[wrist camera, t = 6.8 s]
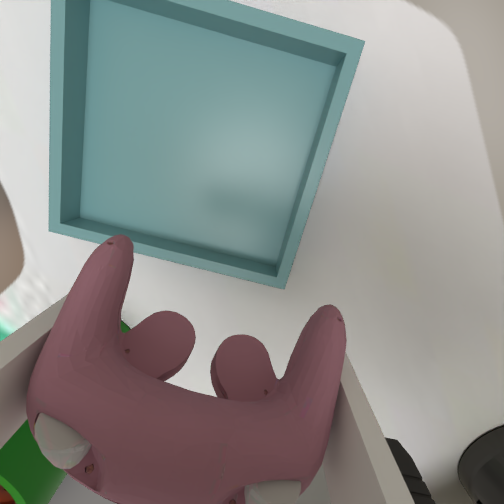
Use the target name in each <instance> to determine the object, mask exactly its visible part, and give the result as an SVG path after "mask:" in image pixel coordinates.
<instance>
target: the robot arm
mask: <svg viewBox="0 0 504 504" xmlns="http://www.w3.org/2000/svg"><path fill="white" fill-rule="evenodd" d="M67 296H68V295H66V296H65V297H63V298H62V299H61V300H59V301H58V302H56V303H55V304H53V305H52V306H51V307H49V308H48V309H46V310H45V311H43V312H42V313H41V314H39V315H38V316H36V317H35V318H33V319H32V320H31V321H29V322H28V323H26V324H25V325H24V326H22V327H21V328H19V329H18V330H16V331H15V332H14V333H12V334H11V335H9V336H8V337H6V338H5V339H4V340H2V341H1V342H0V449H1V448H2V447H3V446H4V444H5V443H6V442H7V441H8V440H9V439H10V438H11V437H12V435H13V434H14V433H15V432H16V431H17V430H18V429H19V428H20V427H21V425H22V424H23V423H24V422H25V421H26V420H27V419H28V418H27V414H26V398H27V391H28V386H29V382H30V378H31V375H32V372H33V370H34V367H35V364H36V362H37V359H38V357H39V355H40V353H41V350H42V348H43V346H44V344H45V342H46V340H47V338H48V336H49V334H50V331H51V329H52V327H53V325H54V323H55V321H56V319H57V317H58V315H59V312H60V310H61V308H62V306H63V304H64V302H65V300H66V298H67ZM322 463H323V468H324V472H325V477H326V482H327V486H328V491H329V496H330V500H331V504H435V502H434V500H432V499H431V494H430V492H429V490H428V488H427V486H426V484H425V483H424V482H423V481H422V477H421V475H420V473H419V471H418V469H417V467H416V465H415V463H414V461H413V459H412V458H411V456H410V455H409V454H408V453H407V451H406V450H405V449H404V448H403V447H402V445H401V444H400V443H399V442H398V440H395V439H390V438H385V437H384V435H383V433H382V431H381V428H380V426H379V424H378V422H377V420H376V417H375V415H374V413H373V411H372V409H371V407H370V404H369V402H368V400H367V398H366V396H365V393H364V391H363V389H362V387H361V385H360V382H359V380H358V378H357V376H356V374H355V372H354V369H353V367H352V365H351V363H350V361H349V358H348V356H347V354H346V352H345V358H344V363H343V369H342V374H341V380H340V385H339V390H338V395H337V400H336V405H335V410H334V415H333V420H332V425H331V430H330V435H329V440H328V444H327V448H326V451H325V455H324V458H323V462H322ZM458 474H459V479H460V481H461V483H462V485H463V486H464V488H465V489H466V491H467V492H468V494H469V496H470V497H471V499H472V500H473V502H474V503H475V504H504V427H501V428H498V429H496V430H494V431H492V432H490V433H488V434H486V435H484V436H483V437H481V438H480V439H478V440H477V441H476V442H474V443H473V444H472V445H471V446H470V447H469V448H468V449H467V451H466V452H465V453H464V455H463V457H462V458H461V461H460V464H459V468H458Z"/></svg>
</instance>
